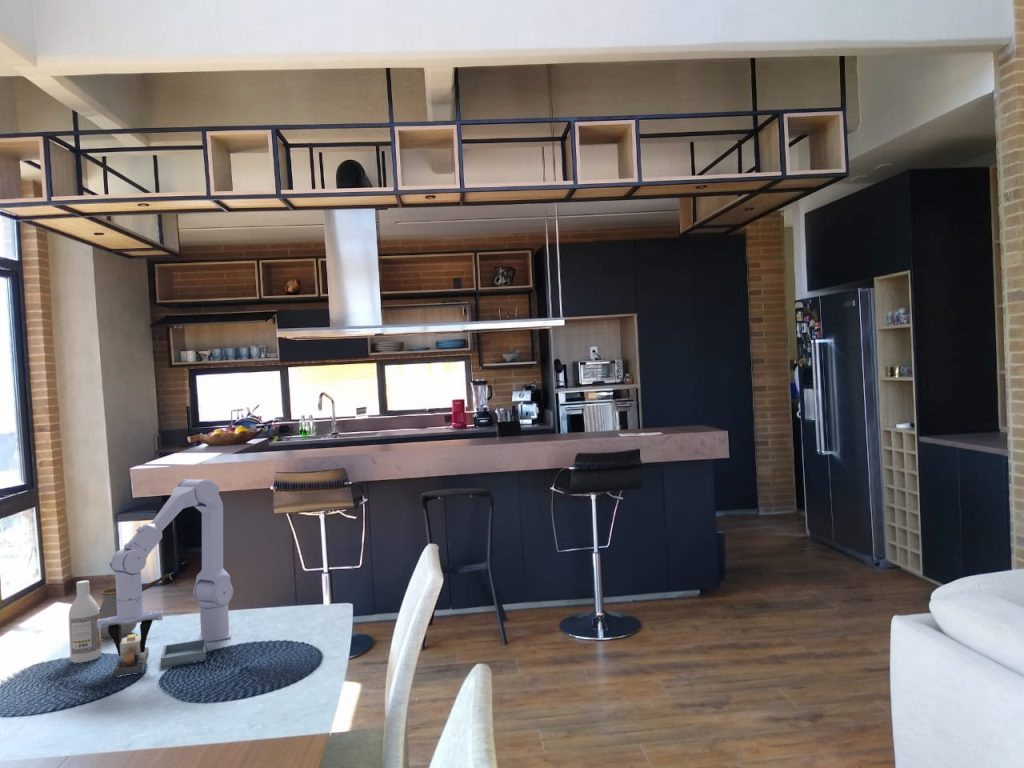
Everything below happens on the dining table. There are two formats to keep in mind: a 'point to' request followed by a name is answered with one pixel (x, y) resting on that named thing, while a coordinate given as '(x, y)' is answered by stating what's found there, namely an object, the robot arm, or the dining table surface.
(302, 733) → the dining table surface
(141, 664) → the hand plane
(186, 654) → the tray
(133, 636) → the white yellow block
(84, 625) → the bath foam
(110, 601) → the coffee pot
